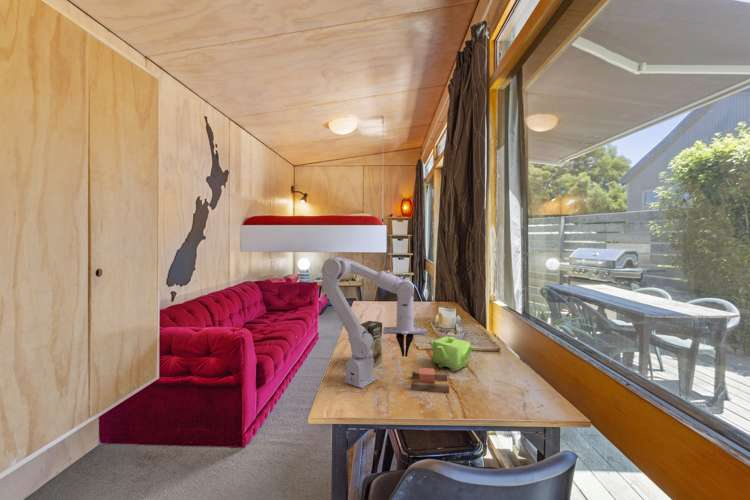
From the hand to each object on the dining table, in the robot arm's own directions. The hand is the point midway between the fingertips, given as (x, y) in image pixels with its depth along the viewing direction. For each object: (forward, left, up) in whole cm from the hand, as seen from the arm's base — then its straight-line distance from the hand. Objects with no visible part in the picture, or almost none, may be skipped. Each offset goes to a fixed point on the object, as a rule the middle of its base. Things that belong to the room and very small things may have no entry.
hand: (404, 355), depth 113 cm
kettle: (+22, -7, -10) cm, 25 cm away
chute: (+4, -7, -9) cm, 12 cm away
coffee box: (+5, +19, -10) cm, 22 cm away
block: (+4, -7, -9) cm, 12 cm away
